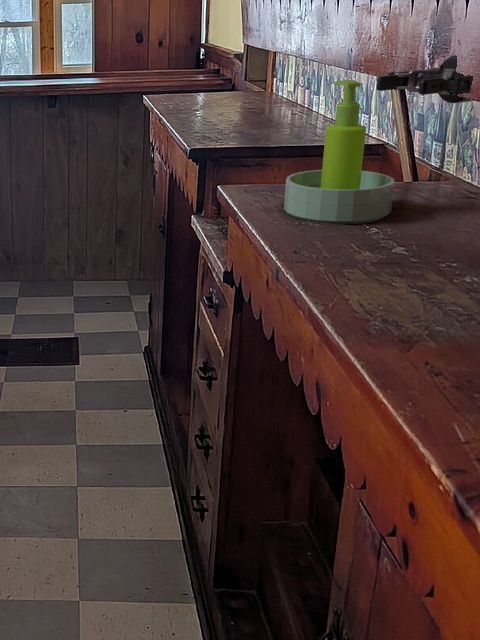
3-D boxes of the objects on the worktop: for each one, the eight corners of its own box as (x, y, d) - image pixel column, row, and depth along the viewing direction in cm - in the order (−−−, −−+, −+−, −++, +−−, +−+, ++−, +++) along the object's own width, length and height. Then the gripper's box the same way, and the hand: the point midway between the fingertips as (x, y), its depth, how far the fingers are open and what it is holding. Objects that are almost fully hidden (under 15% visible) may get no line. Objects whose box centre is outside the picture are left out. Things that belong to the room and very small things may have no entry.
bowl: (402, 207, 142) (406, 173, 140) (373, 230, 130) (377, 193, 128) (303, 198, 151) (306, 166, 149) (268, 219, 139) (271, 185, 137)
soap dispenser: (345, 203, 144) (358, 77, 136) (363, 212, 137) (378, 81, 130) (310, 205, 144) (321, 79, 136) (327, 215, 137) (339, 84, 129)
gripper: (441, 51, 146) (367, 58, 141) (517, 54, 134) (440, 62, 128) (435, 97, 149) (362, 106, 143) (509, 104, 137) (432, 114, 131)
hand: (399, 85), depth 136 cm, fingers open, 8 cm apart
